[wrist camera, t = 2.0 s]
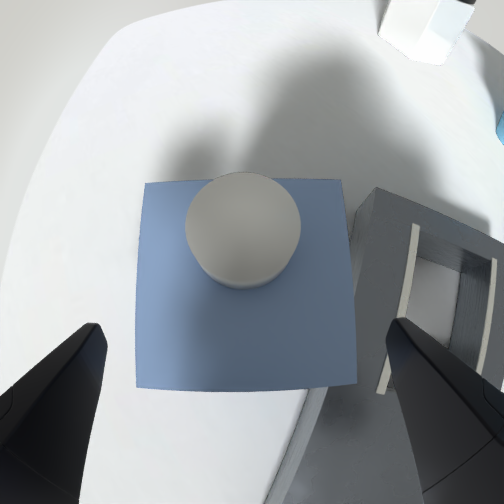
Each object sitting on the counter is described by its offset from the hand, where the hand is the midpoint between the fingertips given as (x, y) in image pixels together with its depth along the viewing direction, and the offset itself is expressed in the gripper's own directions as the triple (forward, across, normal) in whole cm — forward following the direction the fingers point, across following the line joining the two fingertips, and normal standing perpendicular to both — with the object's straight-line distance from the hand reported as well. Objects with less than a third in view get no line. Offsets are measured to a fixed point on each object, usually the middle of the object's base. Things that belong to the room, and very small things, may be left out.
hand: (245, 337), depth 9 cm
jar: (+27, -19, -14) cm, 36 cm away
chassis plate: (+3, -9, +10) cm, 14 cm away
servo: (+7, 0, +6) cm, 9 cm away
